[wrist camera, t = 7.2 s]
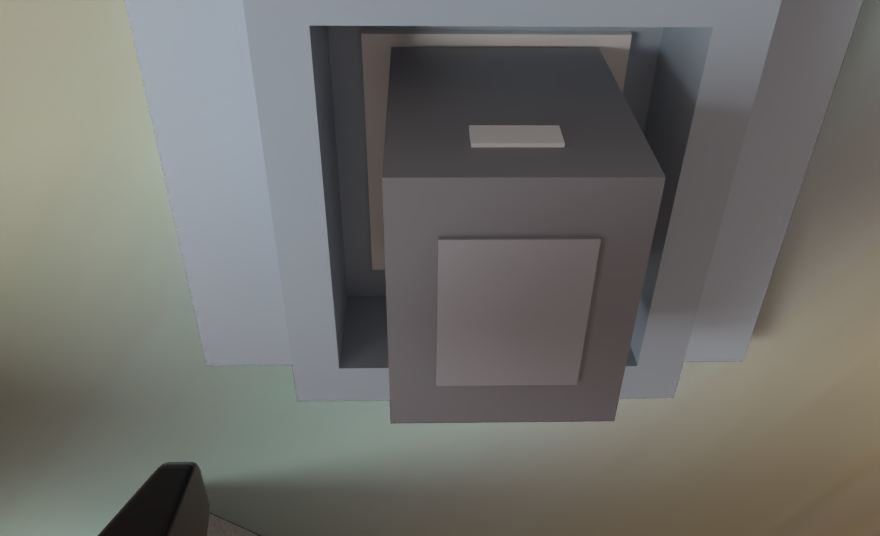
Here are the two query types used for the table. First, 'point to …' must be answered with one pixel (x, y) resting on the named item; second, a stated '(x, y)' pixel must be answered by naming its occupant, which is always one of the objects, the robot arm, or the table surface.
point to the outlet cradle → (362, 149)
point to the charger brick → (512, 234)
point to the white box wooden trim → (225, 528)
